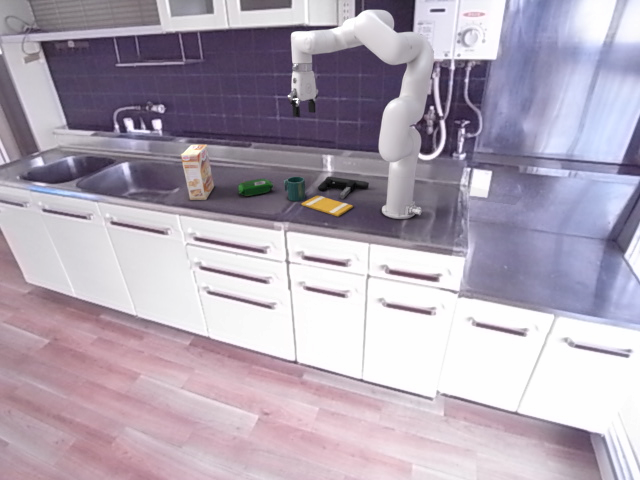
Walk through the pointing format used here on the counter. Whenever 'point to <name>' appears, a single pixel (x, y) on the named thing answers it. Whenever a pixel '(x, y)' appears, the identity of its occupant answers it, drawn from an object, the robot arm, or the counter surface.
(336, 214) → the towel
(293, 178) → the teal mug
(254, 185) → the snack package
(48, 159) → the counter surface
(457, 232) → the counter surface
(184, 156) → the coffeecake box
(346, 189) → the black toy gun
